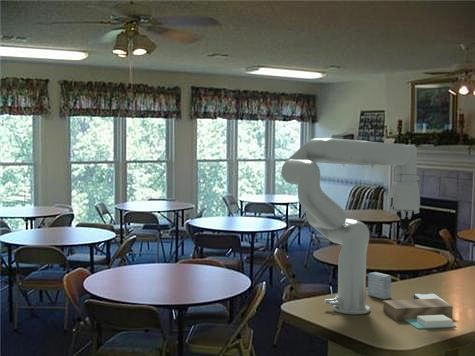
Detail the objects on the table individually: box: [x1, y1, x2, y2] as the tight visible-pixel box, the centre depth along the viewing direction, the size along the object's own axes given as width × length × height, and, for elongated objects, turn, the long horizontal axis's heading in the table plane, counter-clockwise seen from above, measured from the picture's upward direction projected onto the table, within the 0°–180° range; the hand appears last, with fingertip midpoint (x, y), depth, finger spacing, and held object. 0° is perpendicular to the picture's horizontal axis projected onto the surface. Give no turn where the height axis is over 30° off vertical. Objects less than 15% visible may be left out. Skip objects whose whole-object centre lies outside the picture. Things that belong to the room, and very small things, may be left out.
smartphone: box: [413, 293, 451, 305], centre depth 209 cm, size 9×2×16 cm
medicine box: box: [367, 271, 392, 300], centre depth 216 cm, size 8×4×9 cm, turn 34°
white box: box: [417, 315, 454, 329], centre depth 181 cm, size 9×6×2 cm, turn 99°
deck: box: [382, 298, 454, 321], centre depth 192 cm, size 20×10×4 cm, turn 99°
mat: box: [404, 319, 457, 330], centre depth 182 cm, size 13×9×1 cm
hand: (404, 229), depth 206 cm, fingers closed
